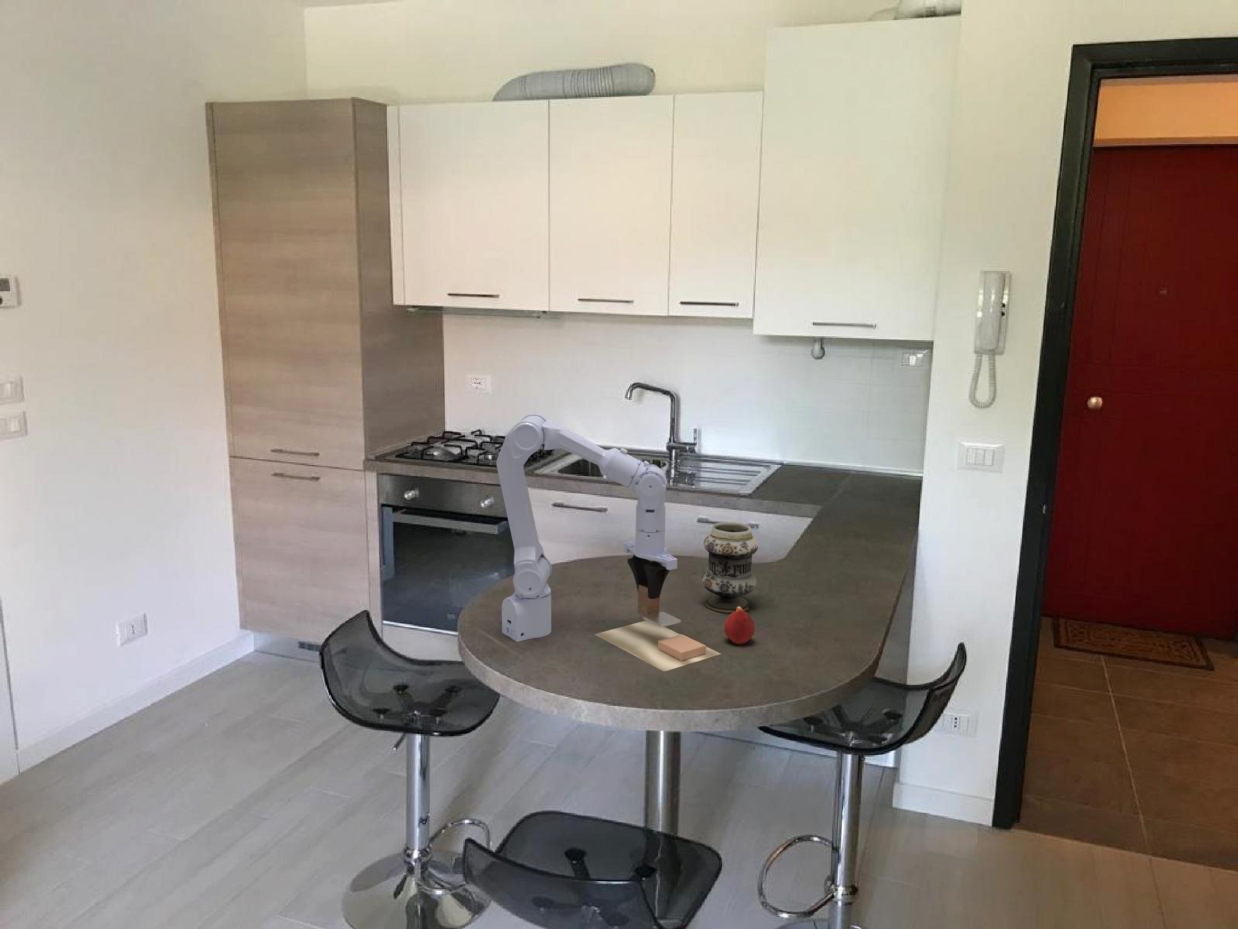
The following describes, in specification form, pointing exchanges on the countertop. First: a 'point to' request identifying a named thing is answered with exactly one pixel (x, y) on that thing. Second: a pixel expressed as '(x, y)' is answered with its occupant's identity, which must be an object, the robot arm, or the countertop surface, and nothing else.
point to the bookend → (653, 609)
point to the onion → (739, 626)
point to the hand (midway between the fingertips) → (648, 595)
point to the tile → (681, 647)
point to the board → (649, 644)
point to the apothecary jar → (729, 566)
